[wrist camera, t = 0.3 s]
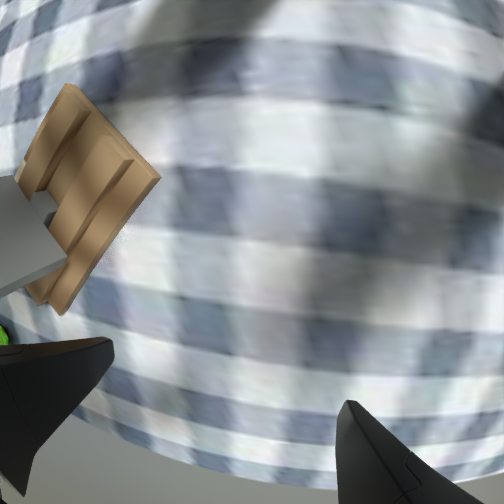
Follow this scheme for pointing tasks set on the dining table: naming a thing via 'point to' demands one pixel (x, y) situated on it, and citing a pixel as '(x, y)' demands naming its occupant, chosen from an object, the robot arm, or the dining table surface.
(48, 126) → the switch base
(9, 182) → the switch lever
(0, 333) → the toy pineapple
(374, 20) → the dining table surface
